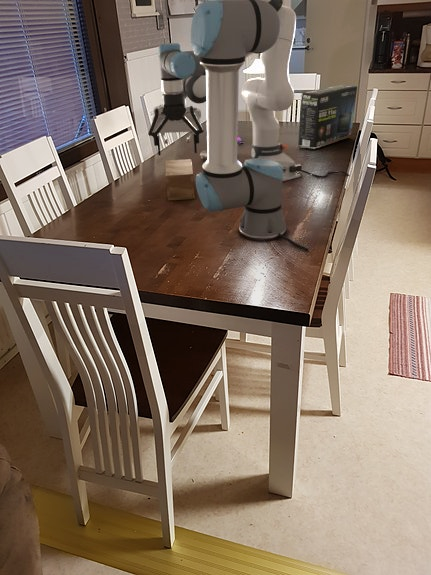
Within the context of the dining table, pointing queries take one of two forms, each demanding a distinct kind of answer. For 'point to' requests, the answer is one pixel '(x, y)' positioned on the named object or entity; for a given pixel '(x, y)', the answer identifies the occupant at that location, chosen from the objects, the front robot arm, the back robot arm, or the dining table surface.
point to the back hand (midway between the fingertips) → (177, 143)
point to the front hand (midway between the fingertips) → (177, 153)
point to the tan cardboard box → (179, 179)
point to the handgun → (240, 140)
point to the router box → (326, 115)
